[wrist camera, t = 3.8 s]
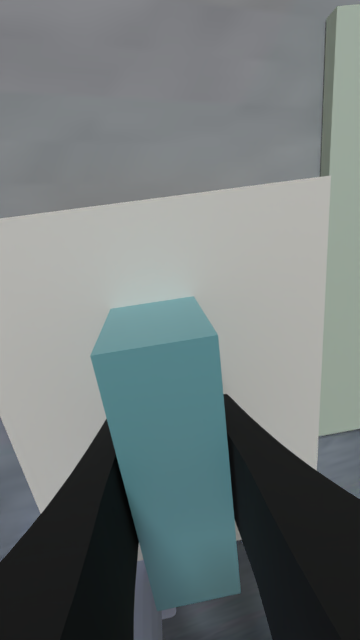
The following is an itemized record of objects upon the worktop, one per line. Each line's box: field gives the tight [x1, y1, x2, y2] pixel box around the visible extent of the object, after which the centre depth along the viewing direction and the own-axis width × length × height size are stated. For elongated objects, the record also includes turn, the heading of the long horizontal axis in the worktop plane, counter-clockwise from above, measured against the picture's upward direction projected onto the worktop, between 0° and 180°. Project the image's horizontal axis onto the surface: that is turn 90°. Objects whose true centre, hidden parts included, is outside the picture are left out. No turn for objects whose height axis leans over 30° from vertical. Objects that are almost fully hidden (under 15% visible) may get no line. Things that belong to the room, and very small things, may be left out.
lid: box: [0, 176, 331, 611], centre depth 9 cm, size 13×10×5 cm
